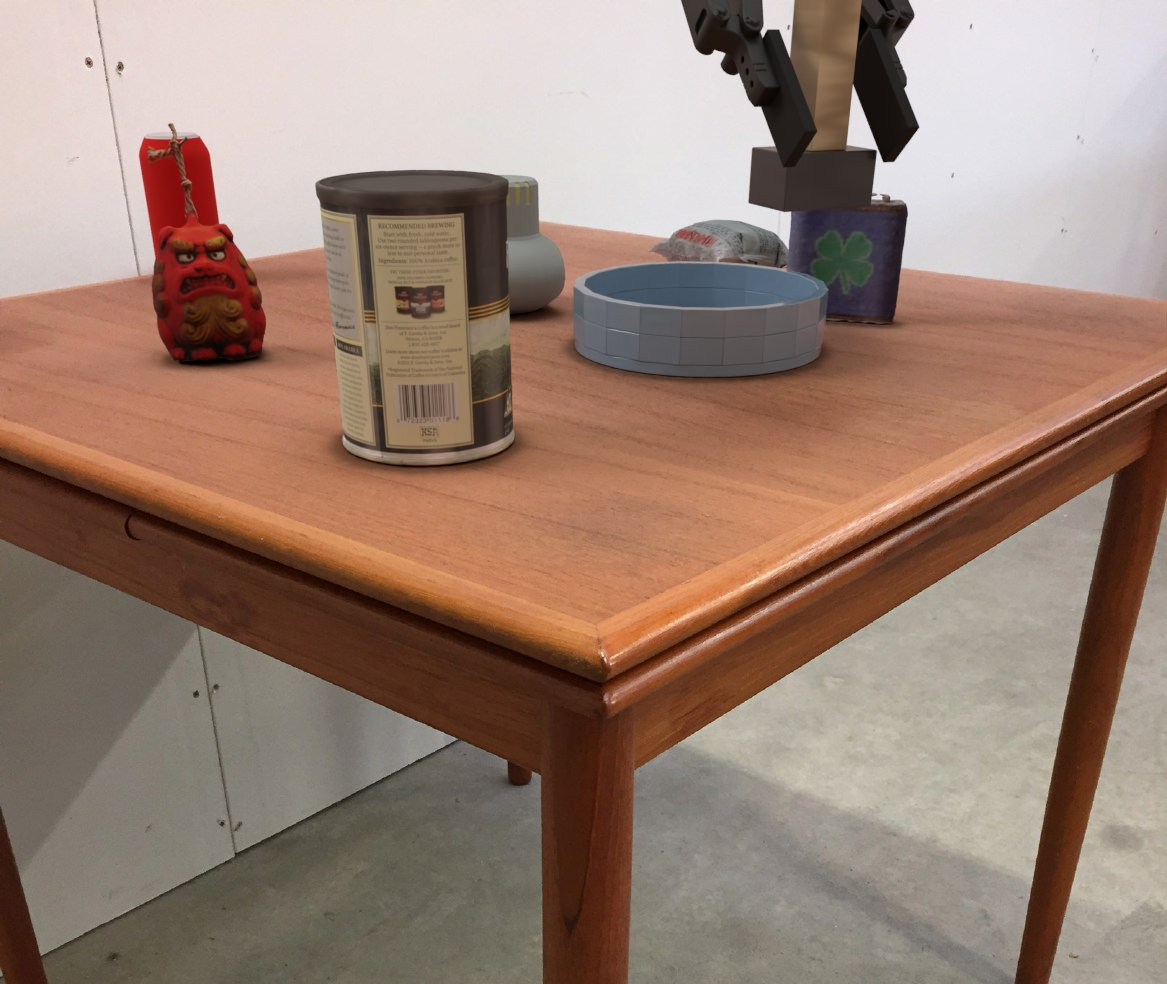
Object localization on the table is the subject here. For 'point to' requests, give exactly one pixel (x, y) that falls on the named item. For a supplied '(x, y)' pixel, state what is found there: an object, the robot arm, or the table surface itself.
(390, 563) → the table surface
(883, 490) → the table surface
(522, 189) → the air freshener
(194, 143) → the beverage can
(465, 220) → the coffee can
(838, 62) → the brush
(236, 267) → the red clay folk toy
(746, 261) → the packaged food
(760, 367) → the bowl
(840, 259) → the flask
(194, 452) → the table surface
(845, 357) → the table surface
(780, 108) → the robot arm
